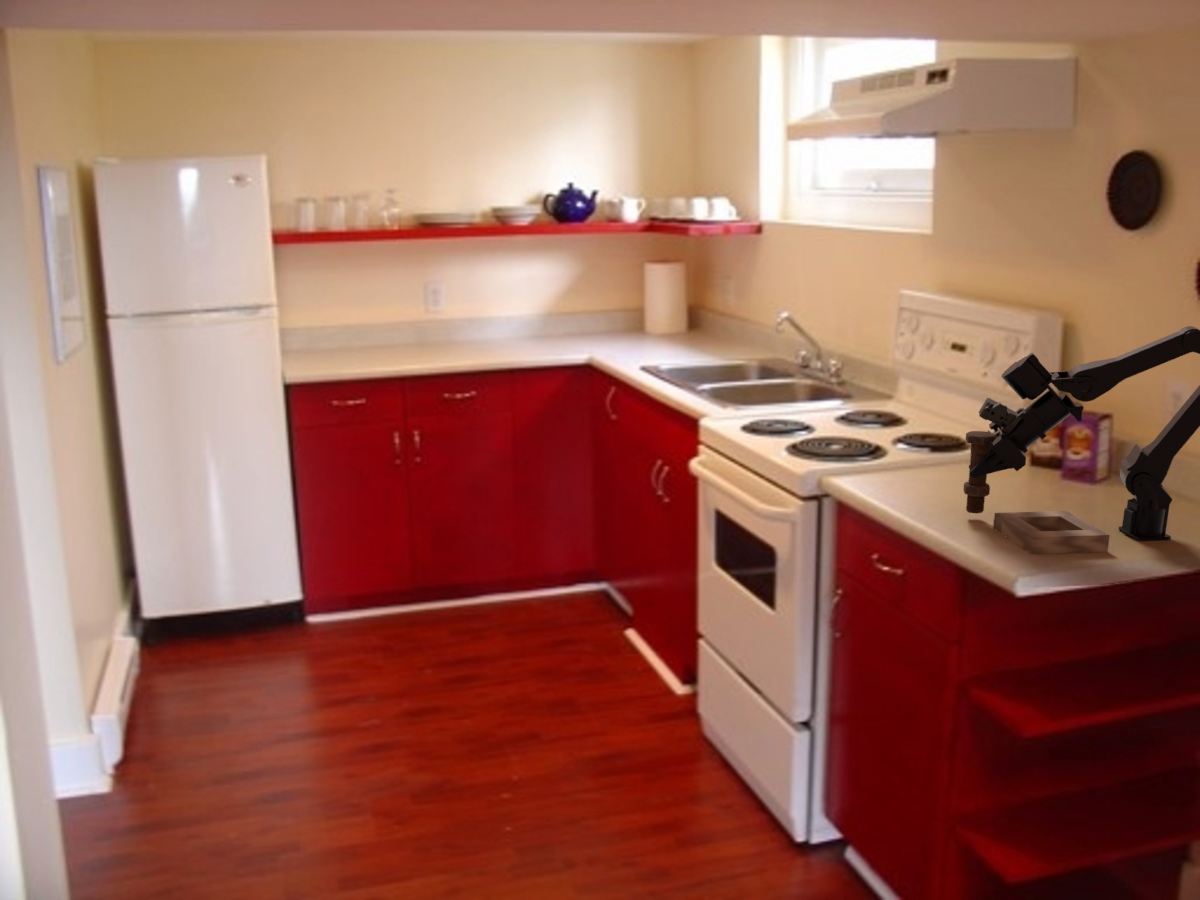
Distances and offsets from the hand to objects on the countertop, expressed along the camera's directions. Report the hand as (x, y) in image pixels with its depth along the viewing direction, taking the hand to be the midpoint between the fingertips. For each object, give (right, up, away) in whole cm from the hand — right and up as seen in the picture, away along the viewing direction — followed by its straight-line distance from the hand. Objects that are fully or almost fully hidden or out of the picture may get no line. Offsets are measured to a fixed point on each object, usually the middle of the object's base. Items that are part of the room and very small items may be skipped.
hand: (970, 472), depth 213 cm
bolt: (+1, -8, +1) cm, 8 cm away
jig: (+11, -12, -10) cm, 19 cm away
